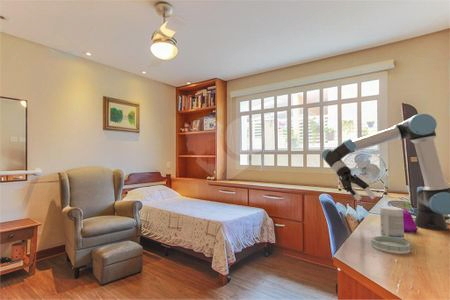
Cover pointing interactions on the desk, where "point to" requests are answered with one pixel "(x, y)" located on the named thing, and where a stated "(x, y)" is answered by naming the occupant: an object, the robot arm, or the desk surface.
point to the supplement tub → (392, 222)
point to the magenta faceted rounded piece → (408, 221)
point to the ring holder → (391, 244)
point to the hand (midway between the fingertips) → (367, 198)
